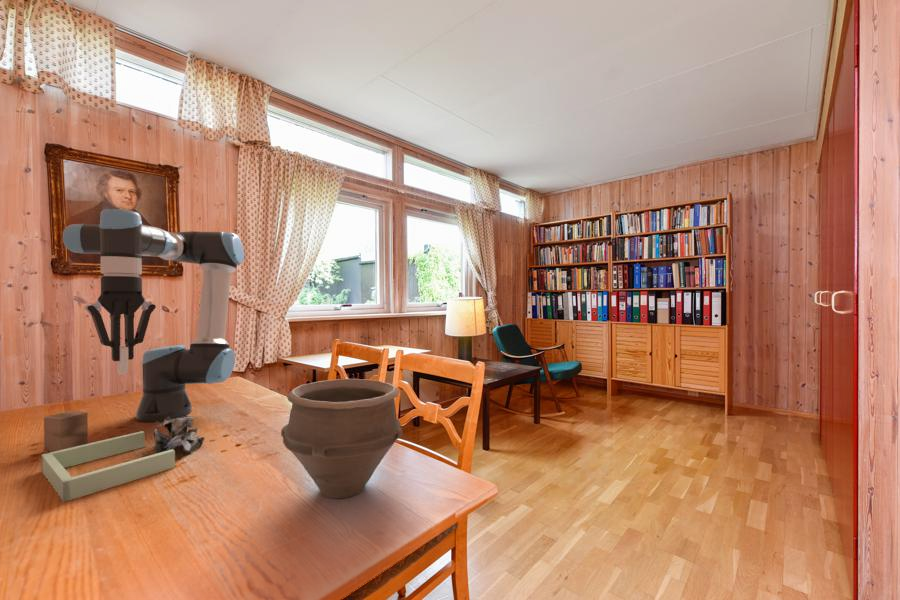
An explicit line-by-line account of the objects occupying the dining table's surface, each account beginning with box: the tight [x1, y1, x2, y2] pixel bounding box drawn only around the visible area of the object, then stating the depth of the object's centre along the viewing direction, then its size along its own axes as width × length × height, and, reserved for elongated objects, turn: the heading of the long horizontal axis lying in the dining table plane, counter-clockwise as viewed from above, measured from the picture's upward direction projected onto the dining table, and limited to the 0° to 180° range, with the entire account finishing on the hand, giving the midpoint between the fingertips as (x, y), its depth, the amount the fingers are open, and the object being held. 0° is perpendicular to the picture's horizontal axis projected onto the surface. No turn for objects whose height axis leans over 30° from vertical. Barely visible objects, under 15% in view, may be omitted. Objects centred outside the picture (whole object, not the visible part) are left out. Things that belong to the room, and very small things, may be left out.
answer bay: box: [41, 430, 176, 503], centre depth 90 cm, size 19×22×4 cm
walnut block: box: [43, 410, 89, 453], centre depth 102 cm, size 6×6×9 cm
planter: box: [280, 378, 404, 500], centre depth 82 cm, size 25×24×22 cm
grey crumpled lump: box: [151, 415, 205, 454], centre depth 103 cm, size 12×11×15 cm
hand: (122, 373), depth 92 cm, fingers closed
